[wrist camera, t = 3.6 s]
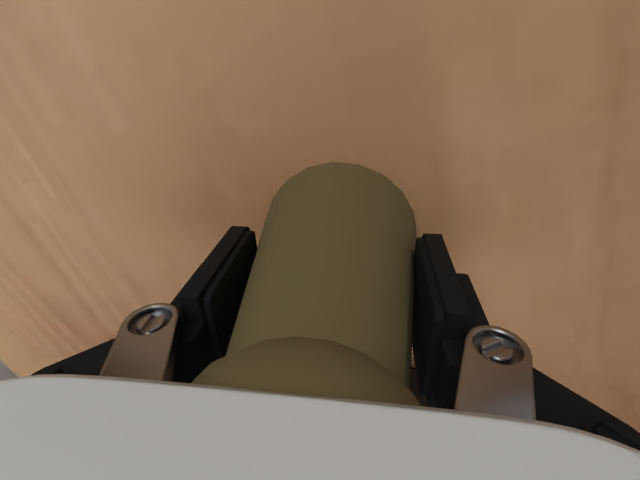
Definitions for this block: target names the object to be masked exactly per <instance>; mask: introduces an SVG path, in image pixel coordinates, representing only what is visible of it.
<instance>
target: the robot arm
mask: <svg viewBox="0 0 640 480" xmlns="http://www.w3.org/2000/svg"><path fill="white" fill-rule="evenodd" d="M256 251H257V245H256V237H255V232H254V231H250V229H249V227H242V226H232V227H230V229H229V230H228V231H227V233H226V234H225V235H224V236H223V238H222V239H221V240H220V242H219V243H218V244H217V245H216V247H215V248H214V249H213V251H212V252H211V253H210V254H209V256H208V257H207V258H206V259H205V261H204V262H203V263H202V264H201V265H200V266H199V268H198V269H197V270H196V272H195V273H194V274H193V275H192V277H191V278H190V279H189V281H188V282H187V283H186V284H185V286H184V287H183V288H182V289H181V291H180V292H179V293H178V295H177V296H176V297H175V298H174V300H173V301H172V302H171V303H170V304H167V303H155V304H150V305H146V306H144V307H141V308H139V309H137V310H136V311H134V312H132V313H131V314H130V315H129V316H127V317H126V318H125V320H124V321H123V323H122V324H121V327H120V329H119V331H118V334H117V336H116V338H115V339H112V340H110V341H107V342H105V343H103V344H100V345H98V346H95V347H93V348H91V349H88V350H86V351H83V352H81V353H79V354H76V355H74V356H71V357H69V358H67V359H64V360H62V361H59V362H57V363H55V364H52V365H50V366H47V367H45V368H43V369H41V370H39V371H37V372H35V373H34V374H32V375H31V376H24V377H16V378H11V379H6V380H2V381H0V480H640V433H639V432H637V431H636V430H634V429H633V428H632V427H630V426H629V425H627V424H626V423H624V422H623V421H621V420H619V419H618V418H616V417H614V416H613V415H611V414H609V413H608V412H606V411H604V410H603V409H601V408H599V407H598V406H596V405H594V404H593V403H591V402H589V401H588V400H586V399H584V398H583V397H581V396H579V395H578V394H576V393H574V392H573V391H571V390H569V389H568V388H566V387H564V386H563V385H561V384H559V383H558V382H556V381H555V380H553V379H551V378H550V377H548V376H546V375H545V374H543V373H541V372H540V371H538V370H536V369H535V368H533V366H532V354H531V351H530V348H529V347H528V346H527V344H526V343H525V342H524V341H523V340H522V339H521V338H520V337H519V336H517V335H516V334H514V333H512V332H510V331H509V330H506V329H503V328H500V327H496V326H490V325H489V323H488V321H487V318H486V316H485V314H484V311H483V309H482V307H481V304H480V302H479V300H478V297H477V295H476V293H475V290H474V288H473V285H472V283H471V281H470V278H469V277H468V275H467V274H457V273H456V272H455V269H454V267H453V264H452V261H451V259H450V256H449V253H448V251H447V248H446V245H445V243H444V240H443V237H442V235H441V234H423V236H422V238H416V243H415V251H414V302H413V326H412V345H413V352H414V359H415V366H416V374H417V381H418V388H419V394H420V396H426V398H427V404H428V407H424V406H414V405H404V404H395V403H385V402H375V401H366V400H356V399H344V398H329V397H318V396H307V395H296V394H284V393H273V392H265V391H257V390H249V389H241V388H232V387H224V386H213V385H202V384H191V382H192V381H193V380H194V379H195V378H196V377H197V376H198V375H199V374H200V373H201V372H202V371H203V370H204V369H205V368H206V367H207V366H208V365H209V364H210V363H211V362H214V361H216V360H218V359H220V358H223V357H225V356H226V353H227V349H228V346H229V342H230V339H231V336H232V332H233V329H234V326H235V322H236V319H237V316H238V312H239V309H240V305H241V302H242V299H243V295H244V292H245V289H246V285H247V282H248V278H249V275H250V272H251V268H252V265H253V262H254V258H255V255H256Z"/></svg>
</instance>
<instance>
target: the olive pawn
mask: <svg viewBox="0 0 640 480" xmlns="http://www.w3.org/2000/svg"><path fill="white" fill-rule="evenodd" d="M415 243H416V228H415V221H414V215H413V211H412V209H411V207H410V205H409V204H408V202H407V200H406V198H405V196H404V195H403V193H402V191H401V190H400V189H398V188H397V187H396V186H395V185H394V184H393V183H392V182H390V181H389V180H388V179H387V178H386V177H385V176H384V175H382V174H380V173H377V172H375V171H373V170H370V169H368V168H366V167H363V166H361V165H357V164H346V163H335V162H332V163H328V164H323V165H319V166H314V167H310V168H307V169H305V170H304V171H302V172H300V173H299V174H297V175H295V176H294V177H292V178H290V179H289V180H287V182H286V183H285V184H284V185H283V186H282V188H281V189H280V190H279V191H278V193H277V194H276V195H275V196H274V197H273V200H272V203H271V206H270V209H269V212H268V215H267V218H266V221H265V224H264V228H263V231H262V235H261V238H260V241H259V245H258V248H257V251H256V255H255V258H254V262H253V265H252V268H251V272H250V275H249V278H248V282H247V285H246V289H245V292H244V295H243V299H242V302H241V305H240V309H239V312H238V316H237V319H236V322H235V326H234V329H233V332H232V336H231V339H230V342H229V346H228V349H227V353H226V356H225V357H223V358H220V359H218V360H216V361H214V362H211V363H210V364H209V365H208V366H207V367H206V368H205V369H204V370H203V371H202V372H201V373H200V374H199V375H198V376H197V377H196V378H195V379H194V380H193V381H192V382H191V384H202V385H213V386H224V387H232V388H241V389H249V390H257V391H265V392H273V393H284V394H296V395H307V396H318V397H329V398H344V399H356V400H366V401H375V402H385V403H395V404H404V405H414V406H421V405H420V403H419V402H418V400H417V399H416V398H415V396H414V395H413V393H412V392H411V391H410V374H411V350H412V326H413V302H414V251H415Z"/></svg>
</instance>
